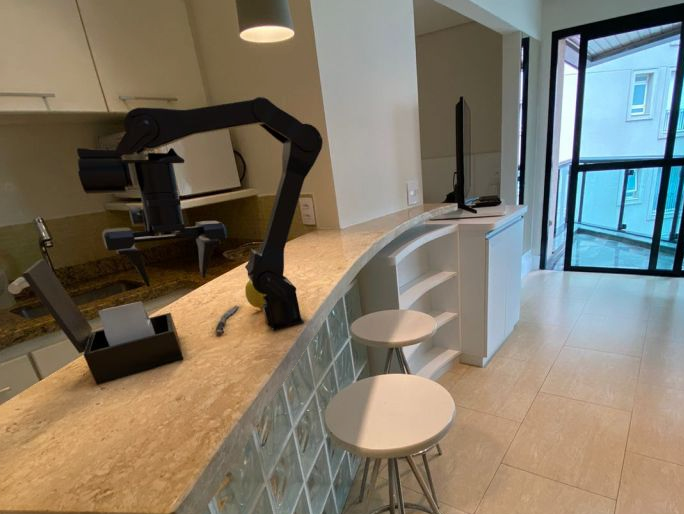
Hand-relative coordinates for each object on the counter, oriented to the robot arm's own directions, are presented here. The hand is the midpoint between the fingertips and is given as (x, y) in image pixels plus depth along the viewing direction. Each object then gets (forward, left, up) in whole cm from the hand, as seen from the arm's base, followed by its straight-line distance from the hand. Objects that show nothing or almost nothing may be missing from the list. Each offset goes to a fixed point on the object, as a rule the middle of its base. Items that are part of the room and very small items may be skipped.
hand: (176, 282), depth 74 cm
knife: (-7, -10, -13) cm, 18 cm away
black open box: (+10, -1, -13) cm, 16 cm away
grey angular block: (+10, -1, -12) cm, 16 cm away
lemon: (-15, -11, -13) cm, 23 cm away
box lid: (+17, -1, 0) cm, 17 cm away
